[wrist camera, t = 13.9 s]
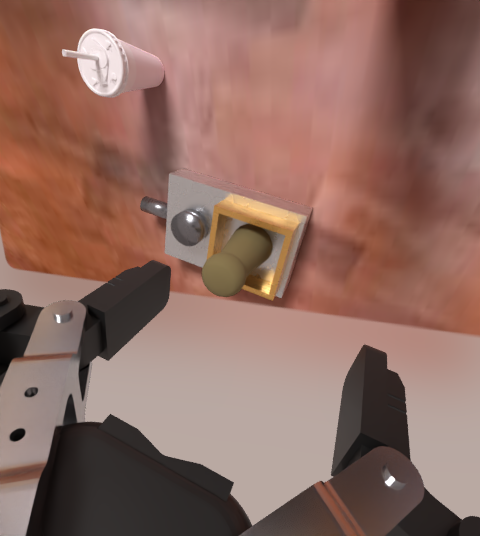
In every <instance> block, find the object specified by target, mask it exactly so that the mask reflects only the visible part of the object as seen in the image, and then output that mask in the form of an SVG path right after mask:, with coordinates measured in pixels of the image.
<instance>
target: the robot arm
mask: <svg viewBox="0 0 480 536" xmlns="http://www.w3.org/2000/svg"><path fill="white" fill-rule="evenodd" d="M170 277H171V268H170V267H169V266H167V265H165V264H162V263H160V262H157V261H155V260H152V261H150V262H148V263H147V264H145V265H144V266H142V267H141V268H140V267H135V268H132V269H128V270H125V271H124V272H122V273H121V274H119V275H118V276H116V278H113V279H111V280H110V281H108V283H105V284H104V285H102V286H101V287H100V288H98V289H96V290H95V291H93V292H92V293H90V294H89V295H87V296H85V297H84V298H83V299H81V300H79V301H78V302H77V301H72V300H64V301H58V302H55V303H52V304H50V305H48V306H47V307H45V308H44V307H37V306H31V305H25V304H24V303H23V299H22V295H21V294H20V293H19V292H17V291H14V290H7V289H3V290H0V536H480V518H479V517H475V516H470V517H466V518H464V519H463V520H462V519H460V518H459V517H458V516H457V515H455V514H454V513H453V512H452V511H450V510H449V509H448V508H447V507H445V506H444V505H443V504H442V503H440V502H439V501H438V500H437V499H435V498H434V497H433V496H432V495H431V494H430V493H429V492H428V491H427V490H426V489H425V487H424V484H423V480H422V478H421V475H420V474H419V472H418V470H417V469H416V467H415V466H414V465H413V464H412V462H411V460H410V449H409V436H408V424H407V415H406V412H407V411H406V404H405V401H406V398H405V387H404V385H403V384H402V381H401V379H400V377H399V376H398V374H397V373H395V372H393V371H390V370H388V369H387V354H386V353H385V352H382V351H380V350H377V349H375V348H372V347H370V346H367V345H363V347H362V348H361V350H360V352H359V354H358V355H357V357H356V359H355V361H354V363H353V365H352V366H351V368H350V370H349V372H348V374H347V376H346V379H345V382H344V386H343V391H342V399H341V406H340V413H339V421H338V428H337V436H336V442H335V450H334V457H333V465H332V471H331V476H333V478H331V479H330V480H328V481H327V482H325V483H323V482H322V481H320V482H317V483H316V484H314V485H312V486H311V487H309V488H308V489H306V490H305V491H303V492H302V493H300V494H299V495H297V496H296V497H294V498H293V499H291V500H290V501H288V502H287V503H286V504H284V505H283V506H281V507H280V508H278V509H277V510H275V511H274V512H272V513H271V514H269V515H268V516H266V517H265V518H264V519H262V520H261V521H259V522H258V523H256V524H255V525H253V526H252V524H251V522H250V520H249V518H248V516H247V515H246V513H245V511H244V510H243V508H242V507H241V505H240V504H239V503H238V502H237V500H236V499H235V498H234V497H233V496H232V495H231V494H230V492H231V489H232V486H233V483H234V482H232V481H230V480H228V479H226V478H225V477H223V476H221V475H219V474H217V473H216V472H214V471H212V470H210V469H208V468H206V467H205V466H203V465H201V464H197V463H193V462H189V461H184V460H180V459H176V458H171V457H167V456H164V455H162V454H161V453H160V452H159V451H158V450H157V449H156V448H155V447H154V446H153V445H152V443H151V442H150V441H149V440H148V439H147V438H146V437H145V436H144V435H143V434H142V433H141V432H140V431H139V430H138V429H137V428H135V427H133V426H131V425H129V424H128V423H126V422H124V421H122V420H120V419H118V418H117V417H115V416H113V415H111V414H110V415H109V416H108V417H107V418H106V419H105V421H104V422H103V423H99V422H85V408H86V401H87V395H88V388H89V382H90V375H91V369H92V360H93V359H94V358H96V356H100V357H102V358H104V359H106V360H110V359H111V358H112V357H113V356H114V355H115V354H116V353H117V352H118V351H119V350H120V349H121V348H122V347H123V346H124V345H125V344H127V342H129V341H130V340H131V339H132V338H133V337H134V336H135V335H136V334H137V333H138V332H139V331H140V330H141V329H142V328H143V327H145V326H146V325H147V323H149V322H150V321H151V320H152V319H153V318H154V317H155V316H156V315H157V314H158V313H159V312H160V311H161V310H162V309H163V308H164V307H165V306H166V303H167V302H168V299H169V291H170Z"/></svg>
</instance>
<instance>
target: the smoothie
mask: <svg viewBox="0 0 480 536" xmlns="http://www.w3.org/2000/svg"><path fill="white" fill-rule="evenodd" d="M62 54H63V56H66V57H73V58H77V60H78V66H79V70H80V73H81V76H82V78H83V80H84V81H85V83H86V85H87V86H88V87H89V88H90V89H91V90H92V91H93V92H94V93H96V94H97V95H99V96H103V97H116V96H118V95H120V94H121V93H124V92H129V91H135V90H140V89H146V88H152V87H157V86H159V85H160V84H161V83H162V81H163V78H164V67H163V64H162V62H161V61H160V59H159V58H158V57H156V56H155V55H152V54H150V53H148V52H146V51H144V50H141V49H139V48H137V47H135V46H132V45H130V44H128V43H126V42H124V41H121V40H119V39H117V38H116V37H115V35H113V34H112V33H110V32H109V31H106V30H103V29H101V30H100V29H90V30H88V31H86V32H85V33H84V34H83V35H82V37H81V39H80V41H79V44H78V50H77V52H76V51H70V50H62Z"/></svg>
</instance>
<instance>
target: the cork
mask: <svg viewBox="0 0 480 536" xmlns="http://www.w3.org/2000/svg"><path fill="white" fill-rule="evenodd" d="M272 249H273V248H272V241H271V238H270V236H269V235H268V233H267V232H266V231H265V230H264V229H262V228H261V227H258V226H255V225H252V224H245V225H242V226H240V227H239V228H238V229H236V231H235V232H234V233H233V235H232V236H231V238H230V239H229V241H228V242H227V244H226V245H225V246H224V248H223V249H222V251H221V252H220V253H217V254H214V255H212V256H211V257H210V258H209V259H207V260H206V262H205V264H204V266H203V268H202V279H203V282H204V284H205V286H206V287H207V289H208V290H209V291H210V292H212V293H213V294H215V295H217V296H222V297H229V296H233V295H235V294H236V293H238V292H239V291H240V290H241V289H242V287H243V286H244V284H245V281H246V277H247V276H248V275H249V274H250V273H252V272H253V271H254V270H255V269H256V268H258V267H259V266H260V265H261V264H263V263H264V262H265V261H266V260H267V259H268V258H269V257H270V255H271V253H272Z"/></svg>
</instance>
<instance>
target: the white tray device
mask: <svg viewBox="0 0 480 536" xmlns="http://www.w3.org/2000/svg"><path fill="white" fill-rule="evenodd" d="M140 207H141V210H142V211H144V212H147V213H150V214H153V215H155V216H158V217H161V218H164V219H167V222H166V240H165V253H166V254H168V255H171V256H173V257H176V258H178V259H181V260H184V261H186V262H189V263H191V264H194V265H197V266H199V267H202V268H203V266H204V264H205V262H206V260H207V259H209V258H210V257H211V256H212V255H214V254H217V253H220V252H221V251H222V249H223V248H224V246H225V245H226V244H227V242H228V241H229V239H230V238H231V236H232V235H233V233H234V232H235V231H236V229H238V228H239V227H240V226H242V225H245V224H252V225H255V226H258V227H261V228H262V229H264V230H265V231H266V232H267V233H268V235H269V236H270V238H271V241H272V248H273V249H272V253H271V255H270V257H269V258H268V259H267V260H266V261H265V262H264V263H263V264H261V265H260V266H259V267H258V268H256V269H255V270H254V271H253V272H252V273H250V274H249V275H248V276H247V277H246V281H245V284H244V286H243V287H242V289H244V290H246V291H249V292H251V293H254V294H257V295H259V296H262V297H264V298H267V299H269V300H272V301H273V300H274V298H275V296H277V297H279V298H282V296H283V294H284V292H285V290H286V288H287V286H288V284H289V281H290V278H291V274H292V271H293V268H294V265H295V262H296V259H297V256H298V253H299V249H300V246H301V243H302V240H303V237H304V234H305V231H306V228H307V224H308V221H309V218H310V215H311V212H312V209H313V208H312V207H309V206H306V205H303V204H299V203H296V202H293V201H290V200H286V199H283V198H280V197H276V196H273V195H270V194H267V193H263V192H260V191H257V190H254V189H250V188H247V187H244V186H240V185H237V184H234V183H231V182H227V181H224V180H221V179H218V178H214V177H211V176H208V175H204V174H201V173H198V172H195V171H191V170H188V169H185V168H184V169H181V170H178V171H175V172H172V173H169V187H168V203H165V202H162V201H159V200H156V199H153V198H150V197H147V196H146V197H144V198H143V199H142V201H141V205H140Z"/></svg>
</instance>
